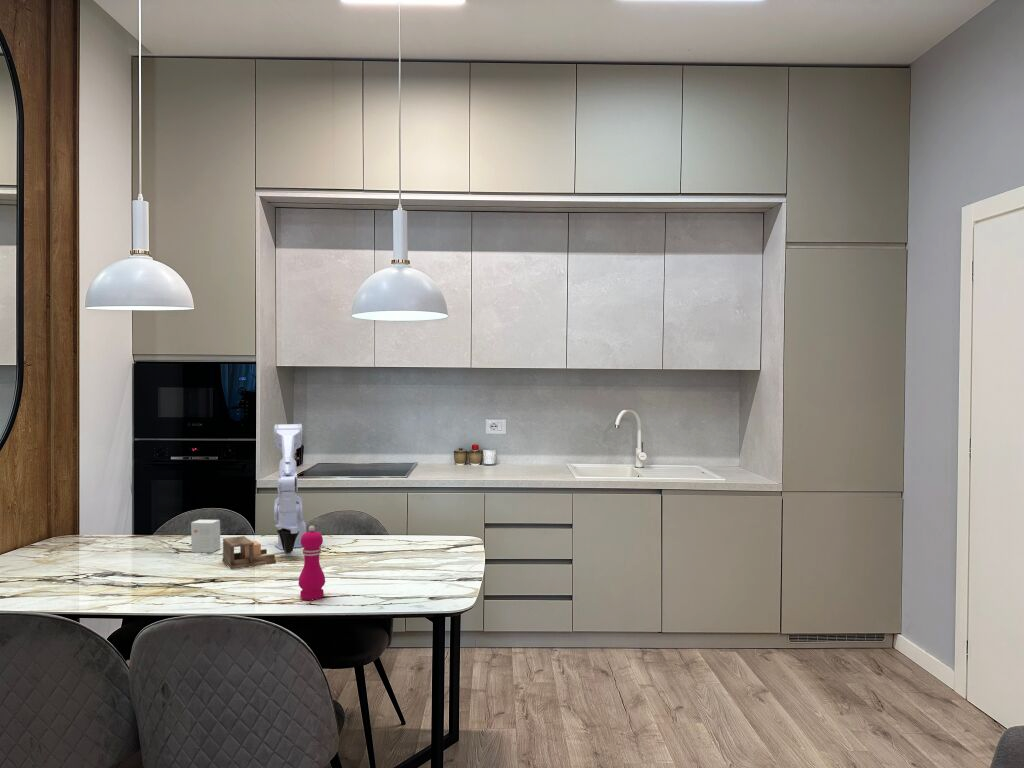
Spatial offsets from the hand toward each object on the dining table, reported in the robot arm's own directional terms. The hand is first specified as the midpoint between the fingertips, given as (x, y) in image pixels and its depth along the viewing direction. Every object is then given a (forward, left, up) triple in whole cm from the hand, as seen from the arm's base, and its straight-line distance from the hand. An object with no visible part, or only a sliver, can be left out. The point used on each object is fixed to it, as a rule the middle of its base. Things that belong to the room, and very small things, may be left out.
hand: (287, 551), depth 255 cm
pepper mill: (+9, +49, -2) cm, 50 cm away
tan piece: (+7, 0, -1) cm, 7 cm away
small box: (+21, -25, -2) cm, 33 cm away
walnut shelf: (+13, 0, -2) cm, 13 cm away
